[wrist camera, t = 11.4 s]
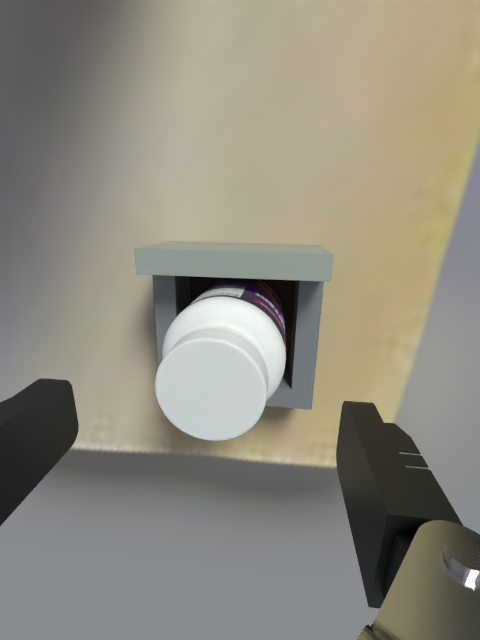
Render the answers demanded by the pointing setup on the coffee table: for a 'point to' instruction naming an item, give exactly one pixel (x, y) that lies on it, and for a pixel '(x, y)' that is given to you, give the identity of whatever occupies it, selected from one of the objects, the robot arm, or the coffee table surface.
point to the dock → (252, 263)
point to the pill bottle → (222, 359)
